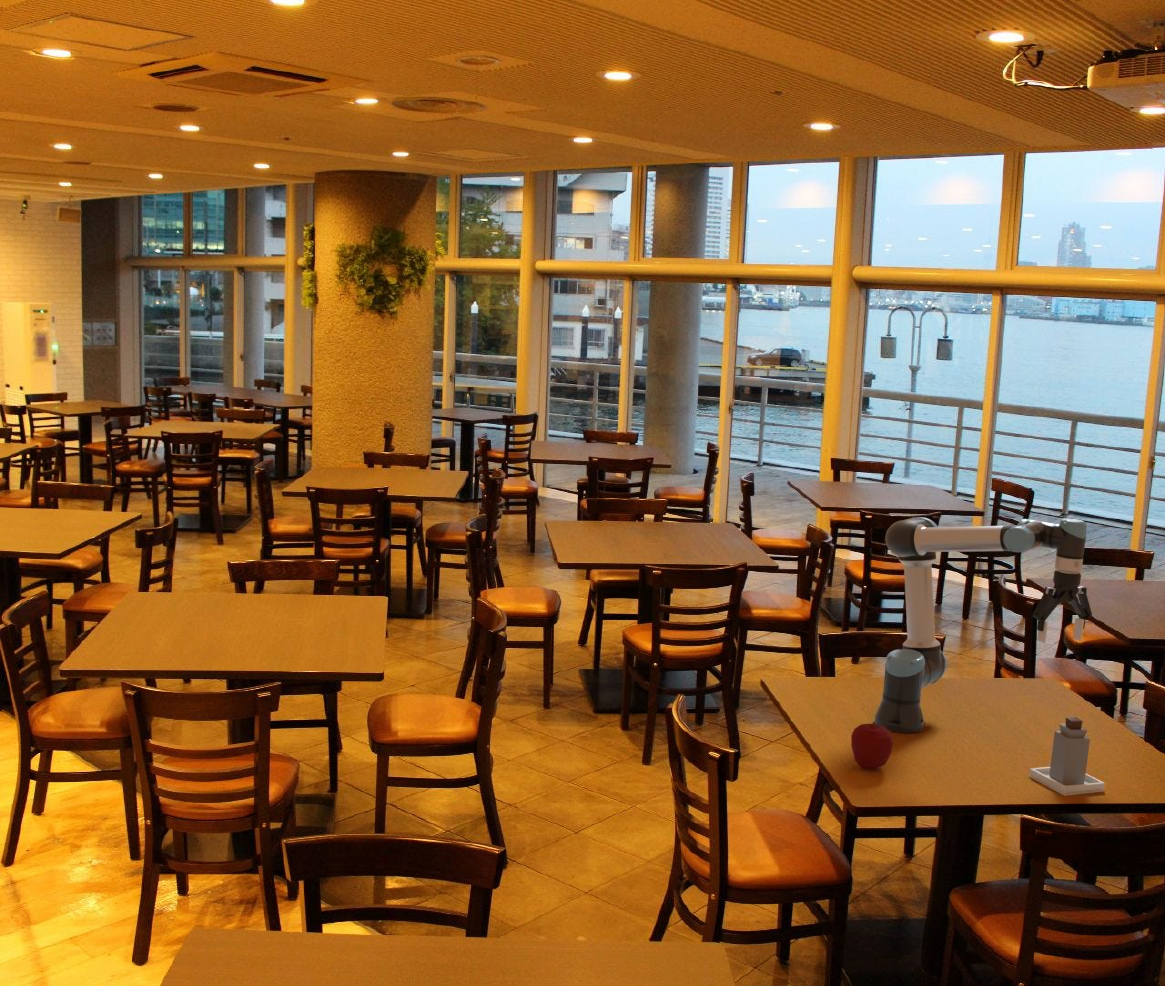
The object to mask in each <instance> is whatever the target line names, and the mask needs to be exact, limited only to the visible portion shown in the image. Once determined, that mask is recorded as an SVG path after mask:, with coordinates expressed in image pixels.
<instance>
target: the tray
mask: <svg viewBox="0 0 1165 986" xmlns="http://www.w3.org/2000/svg"><path fill="white" fill-rule="evenodd" d="M1049 774H1050V766H1042V767H1033V768H1030V769H1029V778H1031V779H1032V780H1035V781H1036V782H1038V783H1041V784H1042V785H1043V786H1046V787H1048V788H1049V789H1051V790H1054V791H1055V792H1057V793H1058V794H1061V795H1063V796H1074V795H1081V794H1083V795H1084V794H1091V793H1093V794H1094V793H1101V792H1105V787H1106V783H1105V782H1103V781H1102V780H1099V779H1098V778H1096V777H1093V776H1092V775H1090V774H1088V773H1086V774H1085V782H1084V784H1080V785H1063V784H1061V783H1059V782H1057V781H1055V780H1054V779H1053V778H1051V777H1050V776H1049Z"/></svg>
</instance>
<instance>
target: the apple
mask: <svg viewBox="0 0 1165 986" xmlns="http://www.w3.org/2000/svg"><path fill="white" fill-rule="evenodd" d="M892 735H893V734H892V732H891V731H889V730H887V729H886V728H885V727H883V726H881V725H877V724H875V723H874V722H873V723H861V724H859V725H858V726H856V727H855V728H854V729H853V731H852V733H851V735H850V736H851V740H850V741H851V745H850V746H851V750H852V754H853V759H854V762H855V763H856V764H857V765H858V766H859V767H860V768H861V769H862V770H865V771H875V770H878V769H880V768H882V767H883V766H885V765H886V764H887V762H888V760H889V758H890V756H891V755H892V753H893V752H892V751H893V747H894V739H893V736H892Z"/></svg>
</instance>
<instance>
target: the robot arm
mask: <svg viewBox="0 0 1165 986" xmlns="http://www.w3.org/2000/svg"><path fill="white" fill-rule="evenodd" d="M1087 527H1088V525H1087V522H1085V520H1081V519H1078V518H1069V517H1066V518H1061V519H1060V521H1059V523H1052V522H1048V521H1047V522H1046V521H1042V520H1041V521H1040V520H1035V519H1027V518H1022V519H1020V521H1019V522H1018V523H1017V525H1010V524H1009V525H979V526H977V525H976V526H974V525H973V526H938V525H937V524H936V522H934V521H933V520H931V519H929V518H927V517H921V516H920V517H919V516H915V517H911V518H907V519H904V520H903V519H902V520H898V521H896V522H894V523H893V524H891V525H890V526H889V528H888V529H887V530H886V533H885V544H886V547H887V549H888V550H889V551H890V552H891V553H892V554H893V555H895V556H896V557H898V561H899V562H900V563H901V564H902V565H903V571H904V572H903V575H904V594H905V611H906V612H905V613H906V615H905V616H906V631H907V633H906V634H907V638H906V640H905V641H904V642H903V643H902V648H901V649H894V650H892V651H890V652H889V653H888V654H887V656H886V660H885V663H884V674H883V675H884V676H883V678H884V679H883V685H882V686H883V689H882V698H881V701H880V703H879V705H878V708H877V710H876V712H875V714H874V720H873V721H874V722H873V723H874V724H877V725H881V726H883V727H885V728H886V729H887V730H888V731H889V732H895V733H902V734H914V733H919V732H922V731H923V730H924V727H925V721H924V716H923V712H922V708H921V699H922V698H921V697H922V689H923V688H925V687H927V686H930V685H933V684H935V683H937V682H938V681H939V680H940V679H941V678H943V676H944V675H945V673H946V670H947V667H948V665H947V657H946V656H945V653H943V651H942V650H941V643H940V641H939V640H937V639H936V633H935V632H936V630H935V629H936V628H935V626H936V625H935V611H934V606H935V605H934V593H933V592H934V590H933V589H934V588H933V586H934V585H933V571H932V570H933V569H932V564H933V563H935V561H936V560H937V553H942V552H945V553H946V552H947V553H948V552H951V553H952V552H955V553H956V552H958V553H959V552H1013V553H1025V552H1027V551H1029V550H1032V549H1035V548H1038V547H1039V548H1040V547H1041V548H1047V549H1052V550H1053V549H1054V550H1056V555H1055V562H1054V569H1055V570H1054V571H1053V578H1052V581H1053V584H1054V585H1053V587H1048V586H1045V587H1044V589H1043V593H1042V596H1041V597H1040V599H1039V601H1038V603H1037V606H1036V608H1035V609H1034V611H1033V613H1032V617H1033V618H1035V619H1037V625H1036V630H1037V638H1036V640H1037V641H1038V642H1041V643H1046V641H1047V640H1046V639H1047V632H1048V625H1049V621H1048V620H1047V619H1048V618H1049V616H1050V615H1051V614H1052V613H1053V611H1054V610H1055V609H1056V608H1057V607H1058V605H1061V603H1070V604H1071V606H1072V608H1073V610H1074V611H1075V614H1076V615H1077V617H1076V616H1075V620H1074V629H1073V636H1072V638H1073V639H1074V640H1077V641H1078V642H1079V641H1080V642H1081V641H1083V640H1082V639H1083V632H1084V630H1085V627H1086V625H1085V624H1086V621H1087V620H1089V619H1090V618H1091V617H1092V616H1093V612H1092V610H1091V609H1092V608H1091V605H1090V602H1089V599H1088V595H1087V594H1088V593H1087V587H1086V586H1083V585H1081V580H1082V574H1081V572H1082V570H1083V562H1084V553H1085V548H1086V547H1085V546H1086V542H1087V541H1086V539H1087Z"/></svg>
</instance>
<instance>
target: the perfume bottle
mask: <svg viewBox="0 0 1165 986" xmlns="http://www.w3.org/2000/svg"><path fill="white" fill-rule="evenodd" d="M1083 721H1084V720H1082V719H1080V718H1078V717H1077V716H1076V717H1074V716H1073V717H1072V716H1071V717H1069V716H1068V717H1065V723H1059V729H1058V730H1054V734H1053V740H1052V741H1053V743H1052V748H1051V749H1052V750H1051V751H1052V752H1051V759H1050V766H1049V767H1050V774H1049V776H1050V777H1051V778H1053V779H1054V780H1055V781H1057V782H1059V783H1061V784H1063V785H1080V784H1084V782H1085V774H1087V765H1088V760H1089V759H1088V758H1089V757H1088V756H1089V750H1090V741H1091V739H1090V738H1089V737H1087V736H1086V735H1087V733H1088V729H1086V728H1084V727H1083V726H1082V725H1083Z"/></svg>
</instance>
